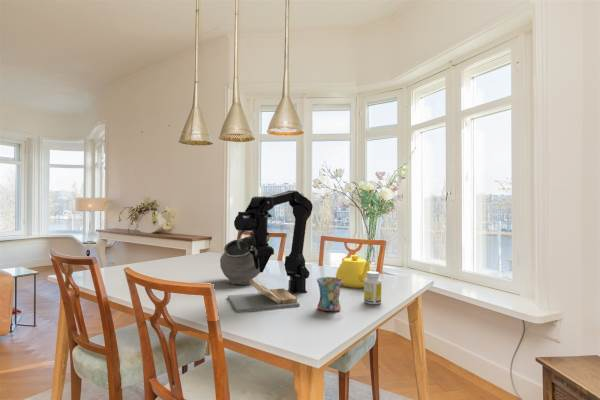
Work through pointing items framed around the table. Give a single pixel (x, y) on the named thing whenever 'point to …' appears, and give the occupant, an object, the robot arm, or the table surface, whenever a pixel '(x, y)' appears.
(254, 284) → the click plank
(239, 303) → the underlay
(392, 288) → the table surface
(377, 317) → the table surface
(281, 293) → the plank
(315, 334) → the table surface
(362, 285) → the teapot
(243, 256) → the pot
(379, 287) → the pill bottle
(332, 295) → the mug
